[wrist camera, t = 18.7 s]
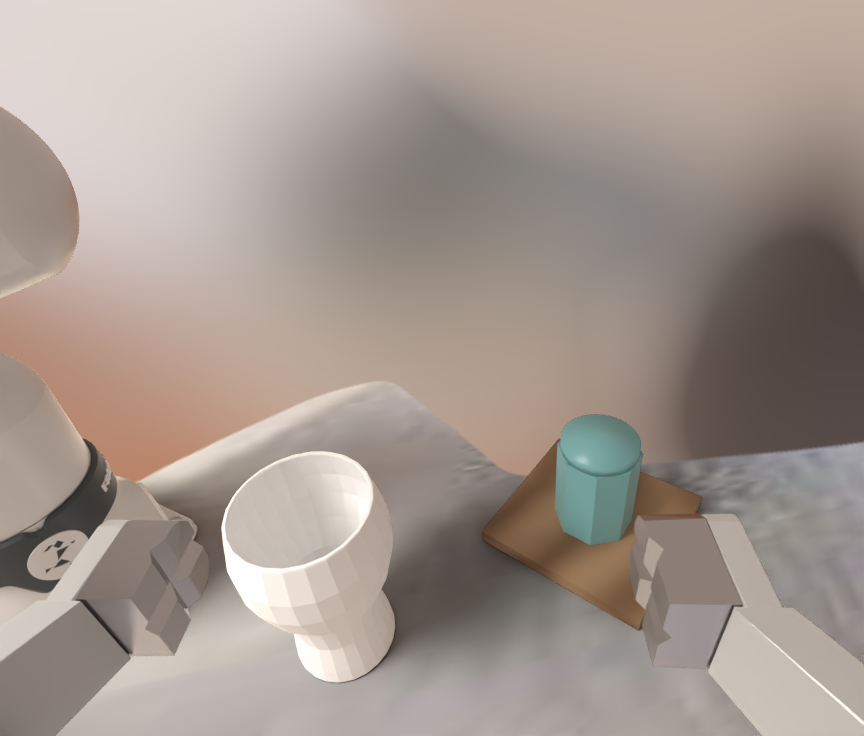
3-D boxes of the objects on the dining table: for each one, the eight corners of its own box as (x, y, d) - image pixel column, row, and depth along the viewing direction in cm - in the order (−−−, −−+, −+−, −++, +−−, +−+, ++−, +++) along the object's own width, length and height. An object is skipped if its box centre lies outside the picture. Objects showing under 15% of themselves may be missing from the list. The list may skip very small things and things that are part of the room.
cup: (441, 624, 41) (418, 494, 33) (332, 740, 36) (269, 620, 27) (356, 549, 48) (318, 424, 39) (253, 636, 42) (182, 513, 33)
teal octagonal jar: (544, 521, 47) (546, 447, 41) (576, 478, 50) (582, 405, 45) (610, 555, 43) (621, 479, 38) (639, 507, 47) (653, 431, 42)
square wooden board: (482, 539, 47) (479, 500, 44) (558, 446, 55) (560, 408, 52) (638, 630, 39) (647, 590, 36) (699, 506, 48) (711, 465, 45)
